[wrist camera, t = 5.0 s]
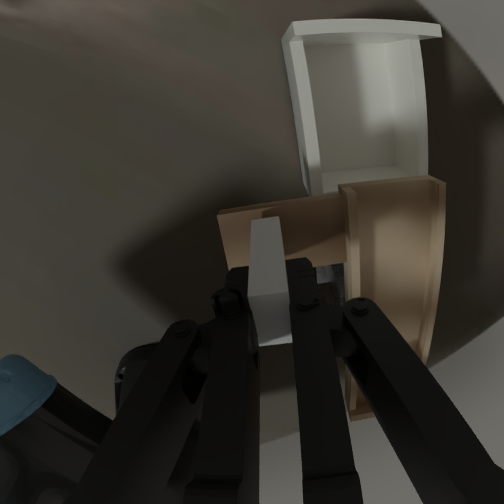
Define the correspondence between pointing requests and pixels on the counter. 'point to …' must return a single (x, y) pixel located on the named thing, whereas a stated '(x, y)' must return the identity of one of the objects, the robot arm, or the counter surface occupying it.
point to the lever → (363, 250)
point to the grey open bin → (358, 99)
